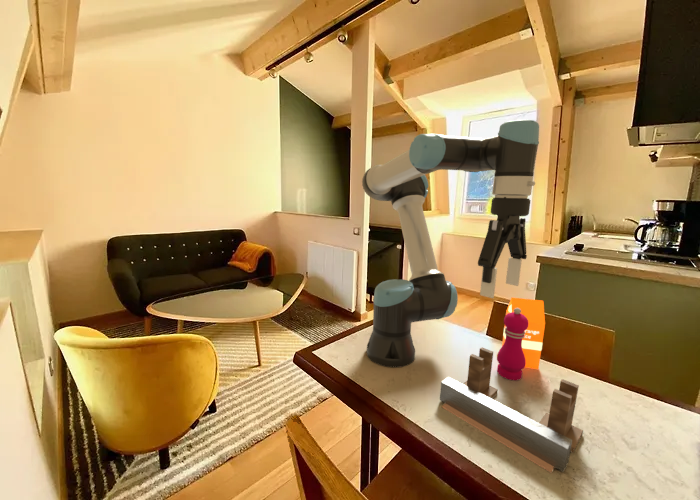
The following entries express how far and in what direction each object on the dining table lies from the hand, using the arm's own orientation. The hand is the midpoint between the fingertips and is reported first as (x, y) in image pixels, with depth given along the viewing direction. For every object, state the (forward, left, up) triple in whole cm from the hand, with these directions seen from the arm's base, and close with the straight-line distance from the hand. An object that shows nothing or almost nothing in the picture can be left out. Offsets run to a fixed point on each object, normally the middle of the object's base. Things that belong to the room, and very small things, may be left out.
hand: (500, 290), depth 71 cm
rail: (+6, -8, -28) cm, 30 cm away
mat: (+6, -8, -29) cm, 30 cm away
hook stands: (+6, +1, -29) cm, 29 cm away
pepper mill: (-1, +16, -29) cm, 33 cm away
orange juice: (-2, +26, -29) cm, 39 cm away
